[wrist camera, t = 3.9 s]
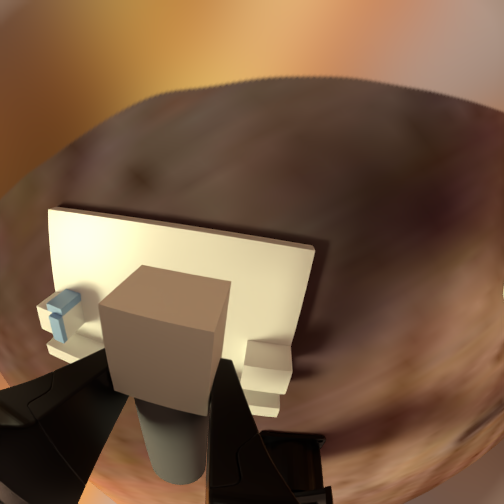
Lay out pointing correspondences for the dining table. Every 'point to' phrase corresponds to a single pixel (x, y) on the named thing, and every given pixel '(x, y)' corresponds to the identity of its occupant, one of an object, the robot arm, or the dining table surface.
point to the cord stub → (167, 360)
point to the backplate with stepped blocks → (187, 261)
